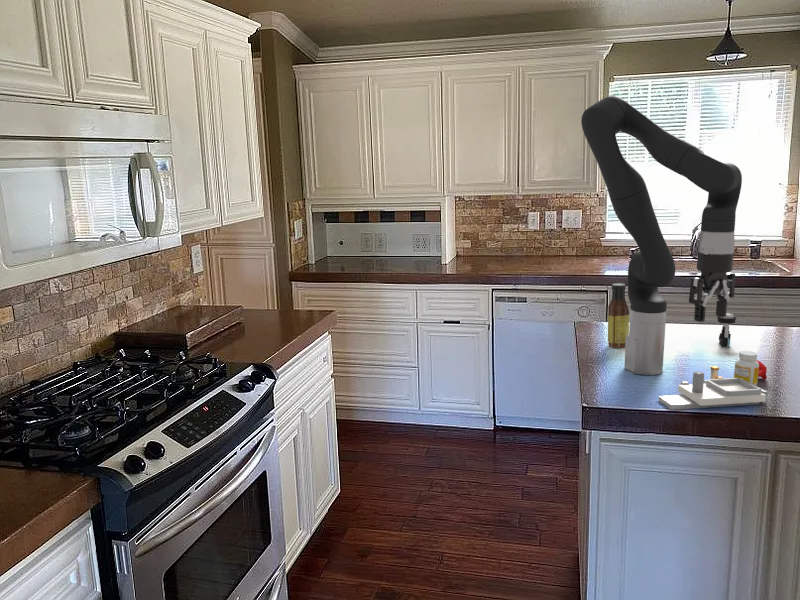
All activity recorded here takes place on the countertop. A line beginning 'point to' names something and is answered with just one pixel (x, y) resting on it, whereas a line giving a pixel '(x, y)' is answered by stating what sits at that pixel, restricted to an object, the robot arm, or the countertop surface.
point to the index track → (686, 403)
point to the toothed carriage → (720, 390)
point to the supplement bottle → (747, 367)
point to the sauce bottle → (618, 317)
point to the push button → (725, 329)
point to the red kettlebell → (762, 370)
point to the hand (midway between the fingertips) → (710, 318)
